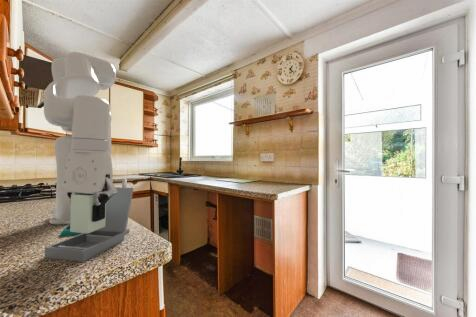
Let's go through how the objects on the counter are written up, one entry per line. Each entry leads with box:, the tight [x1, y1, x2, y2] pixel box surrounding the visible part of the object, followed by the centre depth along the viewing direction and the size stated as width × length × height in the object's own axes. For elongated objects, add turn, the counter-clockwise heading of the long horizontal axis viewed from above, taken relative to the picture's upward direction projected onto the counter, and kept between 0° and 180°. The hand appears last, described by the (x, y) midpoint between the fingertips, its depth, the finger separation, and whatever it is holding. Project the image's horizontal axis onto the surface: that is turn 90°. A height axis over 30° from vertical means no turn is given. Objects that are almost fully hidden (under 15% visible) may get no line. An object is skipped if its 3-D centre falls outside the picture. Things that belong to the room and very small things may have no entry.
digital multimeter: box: [60, 223, 82, 238], centre depth 64 cm, size 7×15×3 cm, turn 31°
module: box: [70, 191, 106, 234], centre depth 50 cm, size 5×5×10 cm
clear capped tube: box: [121, 178, 131, 236], centre depth 59 cm, size 2×2×17 cm
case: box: [44, 230, 125, 263], centre depth 49 cm, size 10×12×3 cm
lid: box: [98, 186, 134, 232], centre depth 57 cm, size 10×12×1 cm
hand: (88, 218), depth 50 cm, fingers closed on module, 5 cm apart
